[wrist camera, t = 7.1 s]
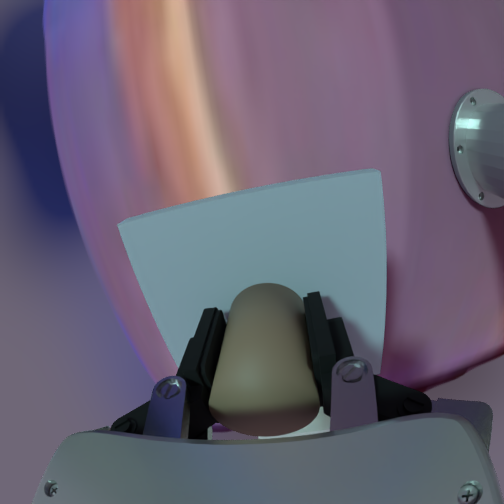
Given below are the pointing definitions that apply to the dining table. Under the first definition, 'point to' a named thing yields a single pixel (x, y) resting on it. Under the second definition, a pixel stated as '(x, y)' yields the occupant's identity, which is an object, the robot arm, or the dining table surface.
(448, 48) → the dining table surface
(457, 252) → the dining table surface
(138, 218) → the lid
